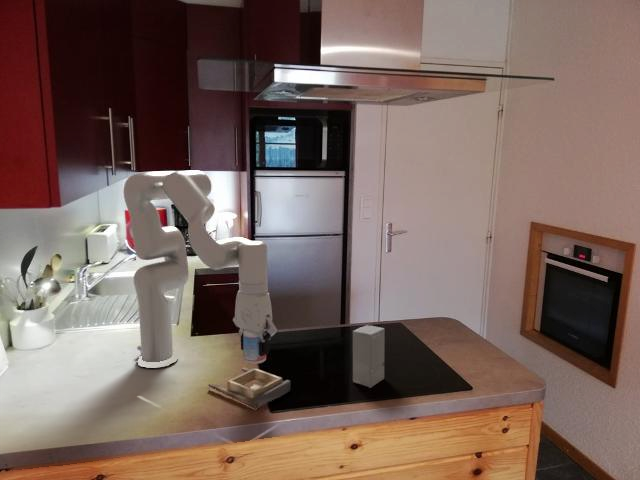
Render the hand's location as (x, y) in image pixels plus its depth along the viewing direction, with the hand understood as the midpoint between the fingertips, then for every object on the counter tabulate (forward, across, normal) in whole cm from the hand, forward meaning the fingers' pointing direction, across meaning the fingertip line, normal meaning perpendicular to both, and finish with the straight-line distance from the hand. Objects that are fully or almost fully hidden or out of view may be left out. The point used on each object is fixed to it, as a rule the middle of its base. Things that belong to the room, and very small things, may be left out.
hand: (254, 350), depth 138 cm
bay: (+13, -2, 0) cm, 13 cm away
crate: (+12, 0, 0) cm, 12 cm away
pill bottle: (+3, 0, 0) cm, 3 cm away
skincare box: (+13, +20, +27) cm, 36 cm away
